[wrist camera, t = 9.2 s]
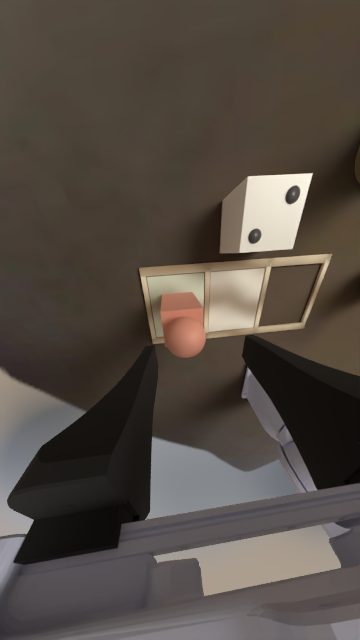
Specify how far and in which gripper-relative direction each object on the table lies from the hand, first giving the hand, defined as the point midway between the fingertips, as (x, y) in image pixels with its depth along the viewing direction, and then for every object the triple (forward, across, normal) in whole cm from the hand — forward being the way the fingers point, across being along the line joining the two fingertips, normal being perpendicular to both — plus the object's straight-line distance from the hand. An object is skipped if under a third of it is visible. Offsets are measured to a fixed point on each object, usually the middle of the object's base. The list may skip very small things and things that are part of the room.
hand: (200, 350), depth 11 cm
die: (+10, -7, -9) cm, 15 cm away
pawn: (+9, +1, 0) cm, 9 cm away
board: (+9, -7, 0) cm, 12 cm away
